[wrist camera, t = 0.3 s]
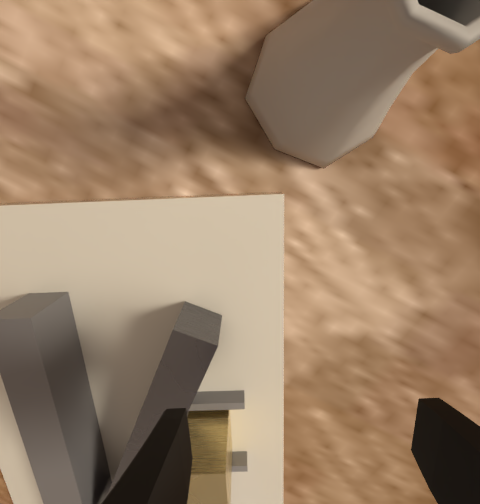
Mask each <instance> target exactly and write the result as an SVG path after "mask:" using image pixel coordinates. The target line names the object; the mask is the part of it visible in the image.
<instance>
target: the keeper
mask: <svg viewBox="0 0 480 504" xmlns="http://www.w3.org/2000/svg"><path fill="white" fill-rule="evenodd" d="M187 418H188V426H189V434H190V441H191V449H192V457H193V459H192V468H191V477H190V486H189V494H188V500H187V504H231V473H232V437H231V421H230V410H204V411H189V412H188V417H187Z"/></svg>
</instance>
